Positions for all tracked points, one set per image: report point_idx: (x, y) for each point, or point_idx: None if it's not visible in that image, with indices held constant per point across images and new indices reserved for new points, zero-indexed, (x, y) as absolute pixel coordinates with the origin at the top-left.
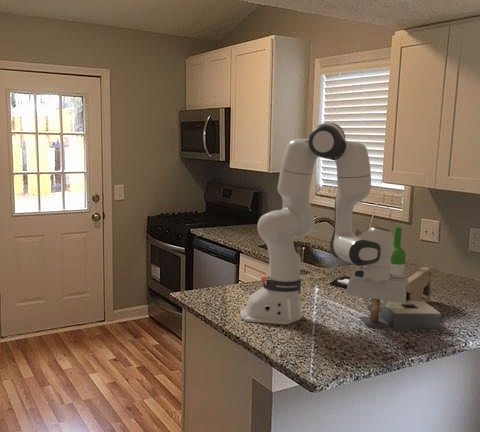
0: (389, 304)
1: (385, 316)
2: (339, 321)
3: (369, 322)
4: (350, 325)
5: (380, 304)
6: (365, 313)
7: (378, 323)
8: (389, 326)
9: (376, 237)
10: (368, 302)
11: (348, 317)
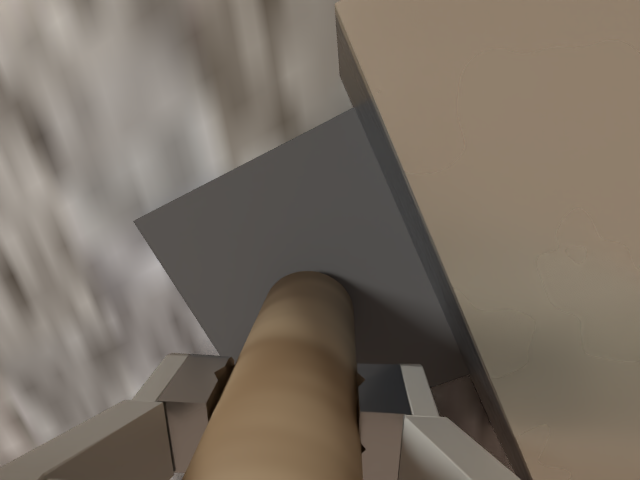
0: (566, 308)
1: (430, 277)
2: (37, 391)
3: None
4: None
5: (340, 45)
6: (158, 18)
7: (356, 343)
8: (462, 375)
9: None
10: (129, 436)
11: (54, 260)
